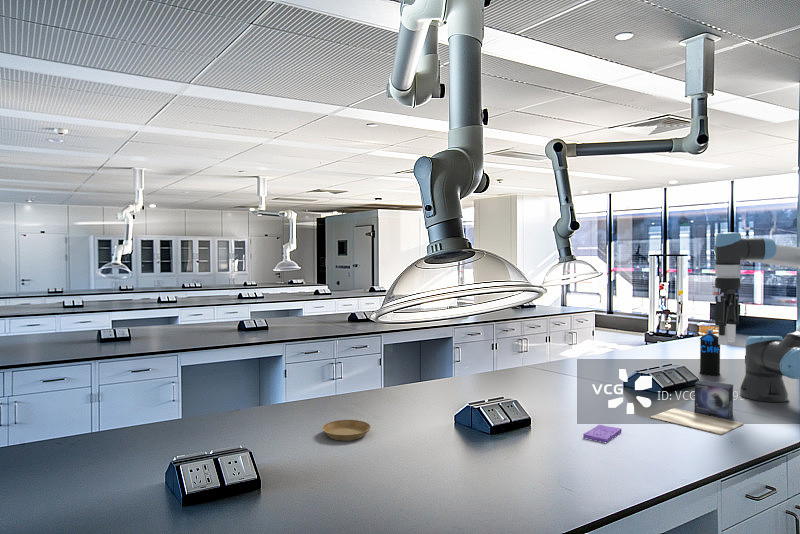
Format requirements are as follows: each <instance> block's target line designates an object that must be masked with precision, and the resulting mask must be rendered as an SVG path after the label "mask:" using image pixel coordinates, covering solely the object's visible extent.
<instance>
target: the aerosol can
mask: <svg viewBox="0 0 800 534" xmlns="http://www.w3.org/2000/svg"><path fill="white" fill-rule="evenodd" d="M713 330H714V329H712V328H708V329H707V333H706V334H704V335H701V337H699V340H700V341H699V342H700V345H699V346H700V347H699V349H700V350H699V352H700V353H699V355H700V356H699V360H700V361H699V364H700V365H699V374H700V375H703V376H709V377H719V376H721V345H719V344H718V335H716V334H714V331H713Z"/></svg>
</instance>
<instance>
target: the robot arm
mask: <svg viewBox="0 0 800 534" xmlns="http://www.w3.org/2000/svg"><path fill="white" fill-rule="evenodd" d="M713 249H714V254H715V255H714V256H715V266H714V268H713V269H714V271H715V273H714V274H715V275H714V276H715V278H714V287H715V288H716V289H719V295H715V296H714V300H715V312H714V313H715V317H714V323H715V324H714V325H715V326H717V328H718V335H717V336H718V344H719V345H720V346H728V344H736V342H737V337H736V335H737V334H736V333H737V330H736V329H737V328H736V327H737V325H739V324H740V320H739V319H740V318H739V317H740V310H739V309H740V308H739V307H740V303H739V301H740V293H736V290H738V289H740V288H741V278H740V277H741V269H742V268H741V267H742V266H741V261H743V262H744V261H745V262H749V263H759V264H766V265H774V266H780V267H790V268H796V269H800V247H798V246H790V245H788V246H787V245H783V244H776V242H775V241H774V240H773V239H772V238H768V237H752V238H751V237H749V238H747V237H745V238H743V237H742V234H741V232H719V233H717V234H716V236H715V245H714V248H713ZM745 340H746V341H745V346H744V347H745V375H744V378H743V380H742V382H741V384H740V385H741V386H740V387H739V395H740V396H741V397H743V398H746V399H750V400H754V401H758V402H759V401H760V402H765V403H767V402H769V403H783V402H787V401H789V393H788V389H787V387H786V385H785V381H784V378H783V376H784V377H786V378H788V379H792V380H799V381H800V325H798V327H797V328H796V330H795V331H794V332H789V333H787V334H786V335H785V337H784V338H783V336H781V335H780V336H779V335H753V336H752V335H749V336H747V337H746V339H745Z"/></svg>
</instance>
